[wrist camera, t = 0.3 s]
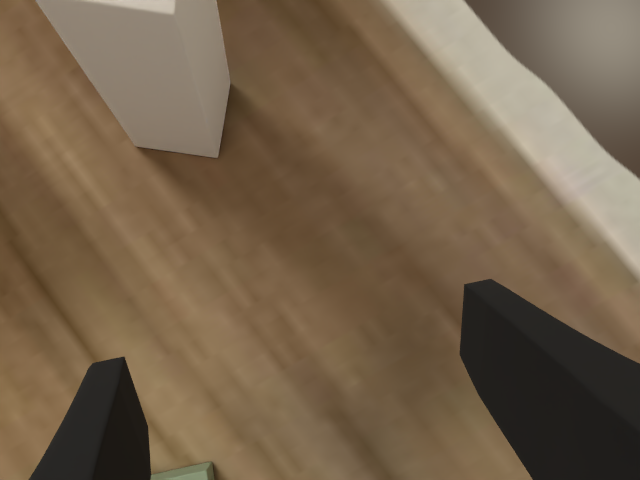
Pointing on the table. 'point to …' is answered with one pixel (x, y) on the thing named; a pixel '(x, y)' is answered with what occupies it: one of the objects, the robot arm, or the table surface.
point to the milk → (152, 66)
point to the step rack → (187, 473)
